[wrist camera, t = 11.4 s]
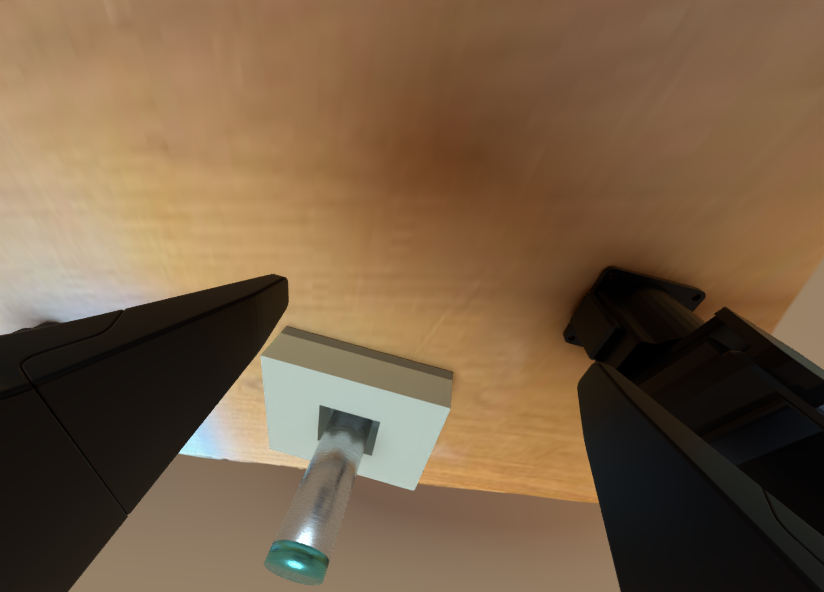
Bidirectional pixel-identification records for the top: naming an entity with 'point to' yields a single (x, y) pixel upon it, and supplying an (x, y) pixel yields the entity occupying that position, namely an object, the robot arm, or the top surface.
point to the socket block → (354, 402)
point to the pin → (320, 502)
